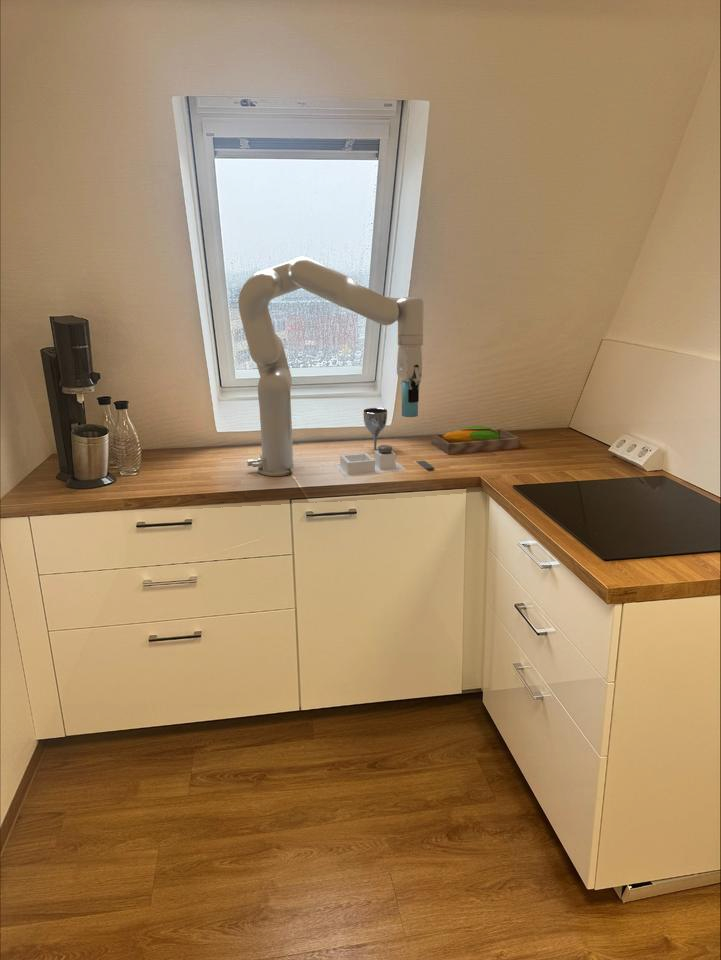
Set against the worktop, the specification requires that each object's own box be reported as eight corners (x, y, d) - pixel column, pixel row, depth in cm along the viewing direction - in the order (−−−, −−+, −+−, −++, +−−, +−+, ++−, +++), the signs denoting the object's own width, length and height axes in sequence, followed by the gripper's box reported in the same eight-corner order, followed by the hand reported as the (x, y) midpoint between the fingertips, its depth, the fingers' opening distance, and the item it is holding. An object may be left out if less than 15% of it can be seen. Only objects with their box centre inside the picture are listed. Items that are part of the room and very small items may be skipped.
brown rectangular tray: (447, 454, 226) (448, 444, 225) (431, 443, 240) (431, 434, 238) (519, 447, 234) (520, 438, 233) (500, 437, 247) (500, 428, 246)
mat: (410, 472, 208) (410, 469, 208) (401, 465, 215) (401, 462, 215) (434, 470, 210) (434, 467, 210) (424, 462, 217) (424, 460, 217)
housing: (343, 481, 200) (343, 461, 198) (333, 469, 211) (333, 451, 209) (406, 474, 205) (406, 456, 203) (393, 463, 216) (393, 446, 214)
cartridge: (404, 418, 203) (404, 377, 199) (398, 414, 208) (398, 374, 204) (421, 416, 204) (421, 375, 200) (414, 412, 209) (415, 373, 205)
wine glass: (377, 458, 222) (378, 414, 217) (358, 454, 227) (358, 411, 222) (391, 453, 228) (391, 409, 223) (372, 449, 233) (372, 406, 228)
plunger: (380, 467, 206) (380, 449, 204) (376, 463, 210) (376, 445, 208) (393, 466, 207) (394, 448, 206) (389, 462, 211) (389, 444, 210)
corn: (502, 428, 230) (443, 427, 231) (501, 450, 231) (443, 449, 232) (499, 424, 237) (442, 424, 238) (497, 445, 239) (441, 444, 240)
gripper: (389, 337, 206) (389, 396, 211) (408, 344, 190) (408, 407, 196) (412, 336, 208) (411, 394, 213) (433, 342, 192) (432, 405, 198)
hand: (410, 399), depth 205 cm, fingers closed on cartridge, 5 cm apart
